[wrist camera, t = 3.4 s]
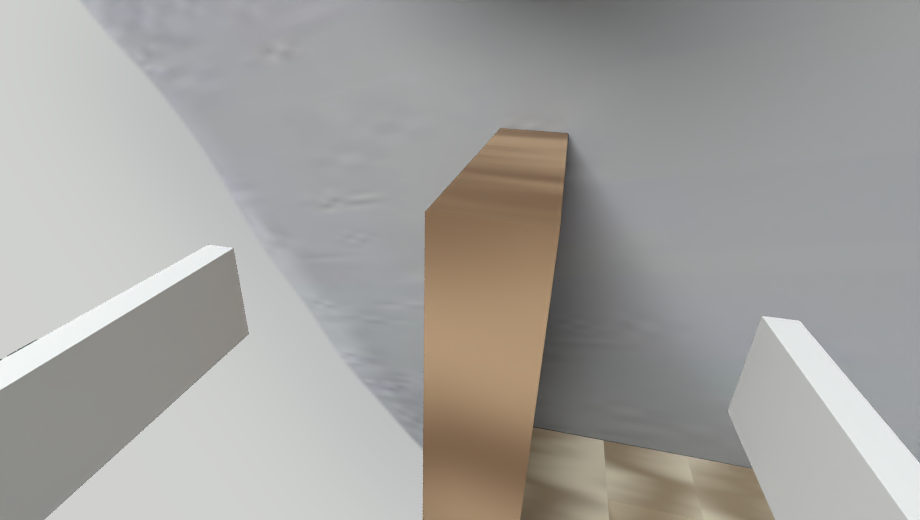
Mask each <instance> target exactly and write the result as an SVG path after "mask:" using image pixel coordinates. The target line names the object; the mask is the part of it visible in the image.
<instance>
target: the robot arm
mask: <svg viewBox="0 0 920 520" xmlns="http://www.w3.org/2000/svg"><path fill="white" fill-rule="evenodd" d="M248 334H249V332H248V327H247V321H246V316H245V311H244V304H243V299H242V293H241V288H240V282H239V276H238V271H237V265H236V260H235V254H234V249H233V248H229V247H220V246H213V245H207V246H205V247H204V248H202V249H200V250H198V251H196V252H194V253H193V254H191V255H189V256H187V257H185V258H184V259H182V260H180V261H178V262H177V263H175V264H173V265H171V266H169V267H168V268H166V269H164V270H162V271H160V272H159V273H157V274H155V275H153V276H151V277H150V278H148V279H146V280H144V281H142V282H141V283H139V284H137V285H135V286H133V287H132V288H130V289H128V290H126V291H124V292H123V293H121V294H119V295H117V296H115V297H114V298H112V299H110V300H108V301H106V302H105V303H103V304H101V305H99V306H97V307H96V308H94V309H92V310H91V311H89V312H87V313H85V314H83V315H81V316H80V317H78V318H76V319H74V320H72V321H71V322H69V323H67V324H65V325H63V326H62V327H60V328H58V329H56V330H55V331H53V332H51V333H49V334H47V335H46V336H44V337H42V338H40V339H37V340H35V341H33V342H31V343H29V344H27V345H26V346H24V347H22V348H20V349H18V350H17V351H15V352H13V353H11V354H10V355H8V356H7V357H6V358H4V359H0V520H44V519H45V518H46V517H48V516H49V515H50V514H51V513H52V512H53V511H54V510H55V509H56V508H57V507H59V506H60V505H61V504H62V503H63V502H64V501H65V500H66V499H67V498H68V497H70V496H71V495H72V494H73V493H74V492H75V491H76V490H77V489H78V488H80V486H82V485H83V484H84V483H85V482H86V481H87V480H88V479H89V478H91V477H92V476H93V475H94V474H95V473H96V472H97V471H98V470H99V469H101V468H102V467H103V466H104V465H105V464H106V463H107V462H108V461H109V460H110V459H111V458H113V457H114V456H115V455H116V454H117V453H118V452H119V451H120V450H121V449H122V448H124V447H125V446H126V445H127V444H128V443H129V442H130V441H131V440H132V439H134V438H135V437H136V436H137V435H138V434H139V433H140V432H141V431H142V430H144V429H145V427H147V426H148V425H149V424H150V423H151V422H152V421H153V420H155V418H157V417H158V416H159V415H160V414H161V413H162V412H163V411H164V410H165V409H167V408H168V407H169V406H170V405H171V404H172V403H173V402H174V401H175V400H176V399H178V398H179V397H180V396H181V395H182V394H183V393H184V392H185V391H186V390H188V389H189V388H190V387H191V386H192V385H193V384H194V383H195V382H196V381H198V380H199V379H200V378H201V377H202V376H203V375H204V374H205V373H206V372H207V371H208V370H210V369H211V368H212V367H213V366H214V365H215V364H216V363H217V362H218V361H220V360H221V359H222V358H223V357H224V356H225V355H226V354H227V353H228V352H229V351H230V350H232V349H233V348H234V347H235V346H236V345H237V344H238V343H239V342H240V341H242V340H243V339H244V338H245V337H246V336H247V335H248ZM728 413H729V416H730V418H731V420H732V423H733V425H734V427H735V429H736V432H737V434H738V436H739V439H740V441H741V443H742V445H743V448H744V450H745V452H746V455H747V457H748V459H749V461H750V464H751V466H752V468H753V471H754V473H755V475H756V477H757V480H758V482H759V484H760V487H761V489H762V491H763V493H764V496H765V498H766V500H767V503H768V505H769V507H770V509H771V512H772V514H773V516H774V519H775V520H920V463H919V462H918V461H917V460H916V458H915V457H914V456H913V455H912V454H911V453H910V451H909V450H908V449H907V448H906V447H905V445H904V444H903V443H902V442H901V441H900V439H899V438H898V437H897V436H896V435H895V434H894V432H893V431H892V430H891V429H890V428H889V426H888V425H887V424H886V423H885V422H884V420H883V419H882V418H881V417H880V416H879V415H878V413H877V412H876V411H875V410H874V409H873V407H872V406H871V405H870V404H869V403H868V401H867V400H866V399H865V398H864V397H863V396H862V394H861V393H860V392H859V391H858V390H857V388H856V387H855V386H854V385H853V384H852V382H851V381H850V380H849V379H848V378H847V377H846V375H845V374H844V373H843V372H842V371H841V369H840V368H839V367H838V366H837V365H836V363H835V362H834V361H833V360H832V359H831V358H830V356H829V355H828V354H827V353H826V352H825V350H824V349H823V348H822V347H821V346H820V344H819V343H818V342H817V341H816V340H815V339H814V337H813V336H812V335H811V334H810V333H809V331H808V330H807V329H806V328H805V327H804V325H803V324H802V323H801V322H800V321H797V320H789V319H781V318H773V317H766V316H762V317H761V320H760V323H759V325H758V328H757V331H756V334H755V337H754V339H753V342H752V345H751V348H750V350H749V353H748V356H747V359H746V362H745V364H744V367H743V370H742V373H741V375H740V378H739V381H738V384H737V387H736V389H735V392H734V395H733V398H732V400H731V403H730V406H729V409H728Z"/></svg>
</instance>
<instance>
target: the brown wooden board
mask: <svg viewBox="0 0 920 520" xmlns="http://www.w3.org/2000/svg"><path fill="white" fill-rule="evenodd" d="M567 142H568V133H558V132H545V131H532V130H518V129H505V128H500V129H499V130H498V132H497V133H496V134H495V135H494V136H493V137H492V138H491V139H490V140H489V142H488V143H487V144H486V145H485V146H484V147H483V148H482V149H481V150H480V152H479V153H478V154H477V155H476V156H475V157H474V158H473V159H472V160H471V162H470V163H469V164H468V165H467V166H466V167H465V168H464V169H463V170H462V171H461V173H460V174H459V175H458V176H457V177H456V178H455V179H454V180H453V181H452V183H451V184H450V185H449V186H448V187H447V188H446V189H445V190H444V191H443V193H442V194H441V195H440V196H439V197H438V198H437V199H436V200H435V201H434V203H433V204H432V205H431V206H430V207H429V208H428V209H427V210H426V211H425V293H424V428H423V520H520V517H521V510H522V503H523V496H524V488H525V481H526V474H527V466H528V459H529V452H530V444H531V437H532V430H533V422H534V415H535V408H536V401H537V393H538V386H539V379H540V371H541V364H542V357H543V349H544V342H545V335H546V327H547V320H548V313H549V306H550V298H551V291H552V284H553V276H554V269H555V262H556V254H557V247H558V240H559V232H560V224H561V212H562V201H563V189H564V177H565V166H566V154H567Z"/></svg>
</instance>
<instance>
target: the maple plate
mask: <svg viewBox="0 0 920 520" xmlns="http://www.w3.org/2000/svg"><path fill="white" fill-rule="evenodd" d="M520 520H775V519H774V516H773V514H772V512H771V509H770V507H769V505H768V503H767V500H766V498H765V496H764V493H763V491H762V489H761V487H760V484H759V482H758V480H757V477H756V475H755V473H754V471H753V469H752V468H746V467H741V466H736V465H730V464H725V463H720V462H715V461H709V460H704V459H699V458H694V457H688V456H683V455H678V454H672V453H667V452H662V451H657V450H651V449H646V448H641V447H636V446H630V445H625V444H620V443H614V442H609V441H604V440H599V439H593V438H588V437H583V436H578V435H572V434H567V433H562V432H556V431H551V430H546V429H541V428H535V427H533V430H532V437H531V444H530V452H529V459H528V466H527V474H526V481H525V488H524V496H523V503H522V510H521V517H520Z"/></svg>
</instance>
